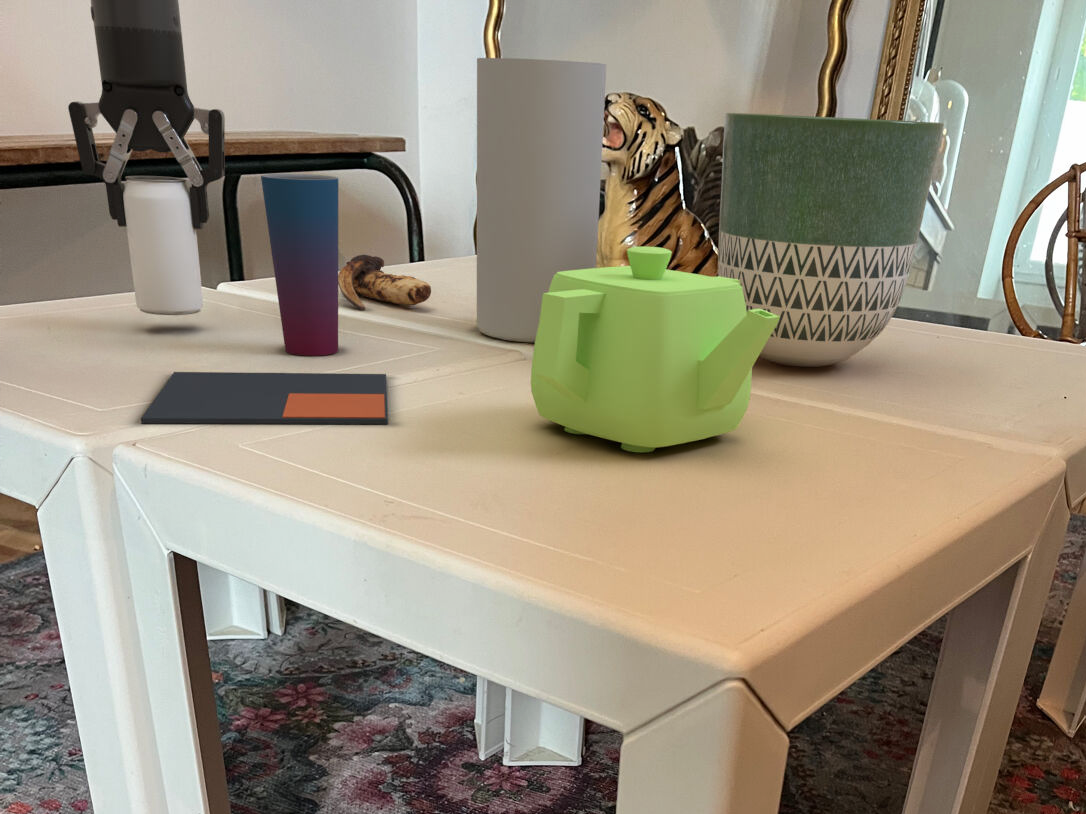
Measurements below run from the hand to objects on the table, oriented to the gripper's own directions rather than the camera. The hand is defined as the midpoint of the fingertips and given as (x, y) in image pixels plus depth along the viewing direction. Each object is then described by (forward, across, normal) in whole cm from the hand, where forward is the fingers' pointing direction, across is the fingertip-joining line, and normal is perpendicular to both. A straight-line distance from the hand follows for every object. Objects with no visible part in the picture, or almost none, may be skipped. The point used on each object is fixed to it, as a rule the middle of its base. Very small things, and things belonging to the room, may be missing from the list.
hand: (161, 226), depth 110 cm
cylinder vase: (+9, -37, -1) cm, 39 cm away
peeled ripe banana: (+9, -20, -20) cm, 30 cm away
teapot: (+9, -41, +42) cm, 60 cm away
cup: (+10, -14, +10) cm, 20 cm away
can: (+8, 0, 0) cm, 8 cm away
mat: (+10, -12, +30) cm, 34 cm away
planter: (+9, -62, +13) cm, 64 cm away
